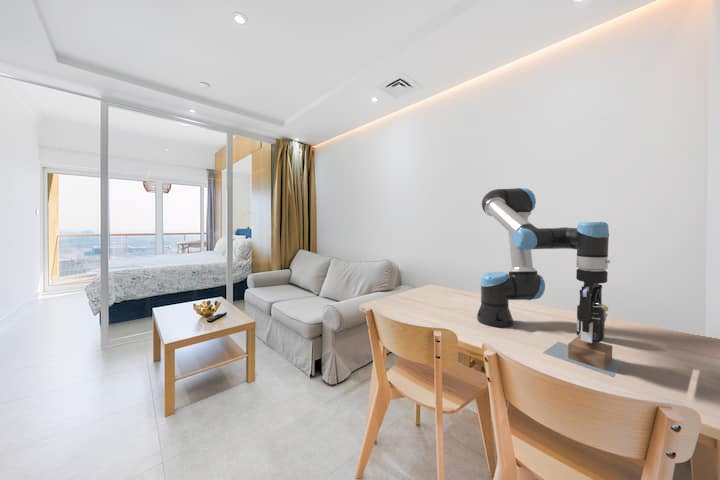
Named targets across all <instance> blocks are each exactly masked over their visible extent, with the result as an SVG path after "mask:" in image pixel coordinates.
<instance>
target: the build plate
mask: <svg viewBox="0 0 720 480" xmlns="http://www.w3.org/2000/svg"><path fill="white" fill-rule="evenodd" d="M542 354H545V355H548V356H550V357H553V358H557V359H559V360H562V361H566V362H568V363H571V364H575V365H577V366H580V367H583V368H586V369H589V370H591V371H594V372H598V373H601V374H604V375H607V376H609V377H613V378H614V377H615V375H616V374H617V373H618V371H619V370H620V369H621V367H622V366H623V365H624V364H625V362H626V361H625V360H620V359H618V358H615V357H612V361H611V363H610V364H609V365H608V366H607V367H606V369H605V370H602V369H599V368H596V367H593V366H590V365H587V364H584V363H581V362H578V361H575V360H572V359H569V358H568V344H567V343H564V342H560V341H557V342H556V343H554V344H553V345H552V346H550V347H548V348H547V349H546V350H544V351H543V352H542Z"/></svg>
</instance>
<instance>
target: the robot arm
mask: <svg viewBox="0 0 720 480" xmlns="http://www.w3.org/2000/svg"><path fill="white" fill-rule="evenodd" d="M536 201H537V200H536V195H535V193H534V192H533V191H532V190H530V189H529V188H522V187H521V188H520V187H516V188H497V189H496V188H495V189H492V190H490V191H488V192H487V193H486V194H485V195H484V196H483V197H482V200H481V208H482V211H484V212H483V213H485V214H486V215H487V216H489V217H493V218H494V219H495V220H496V222H498V223H499V224H500V225H501V226H502V227H503V228H504V229H505V230H506V231H508V242H509V251H510V262H511V263H510V264H511V268H510V269H509V270H508V272H506V271H491V272H486V273H484V274H482V276H481V278H480V306H479V310H478V312H477V317H476V318H477V319H476V320H477V321H478V322H479V323H480V324H483V325H486V326H489V327H495V328H496V327H498V328H507V327H511V326H513V324H514V321H513V320H514V318H513V316H512V312H511V310H510V307H509V301H512V300H513V301H520V300H522V301H531V300H538V299H540V298H541V297H542V296H543V295H544V293H545V291H546V283H545V280H544V277H543V276H542V275H540V274H538V270H537V269H535V268H534V265H533V257H532V256H533V255H532V250H549V249H550V250H556V249H557V250H558V249H561V250H562V249H570V250H576V268H577V269H576V272H575V273H576V276H575V278H576V280H578V281H579V282H583V286H581V289H579V304H580V306H579V318H578V320H579V321H581V340H582V341H586V342H589V343H592V333H593V322H592V313H593V305H594V303H599V304H601V305H602V304H603V303H602V302H603V301H602V297H603V295H602V291H603V285H602V284H605V283H607V282H608V271H607V270H608V264H611V260H609V259H608V258H609V237H610V233H609V232H610V231H609V225H608V223H607V222H605V221H585V222H584V221H583V222H579V223H577V226H576V227H568V226H567V227H553V228H552V227H551V228H547V227H545V228H538V227H536V226H535V225H533V224H532V223H531V222H530V221H529V217H530V216H531V214H532V211H534V209H535V207H536V204H537V202H536ZM584 317H585V318H584Z"/></svg>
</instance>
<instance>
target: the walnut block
mask: <svg viewBox="0 0 720 480" xmlns="http://www.w3.org/2000/svg"><path fill="white" fill-rule="evenodd" d="M567 345H568V358H569V359H572V360H575V361H578V362H581V363H584V364H587V365H590V366H593V367H596V368H599V369H602V370H605V369H606V367H607V366H608V365H609V364H610V363H611V361H612V358H613V345H611V344H608V343H607V344H606V343H603V342H598V343H594V342H592V343H589V342H586V341H582V340H581V338H580V337H579V336H576V337H575V338H573V340H571V341H569V342H568V344H567Z"/></svg>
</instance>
